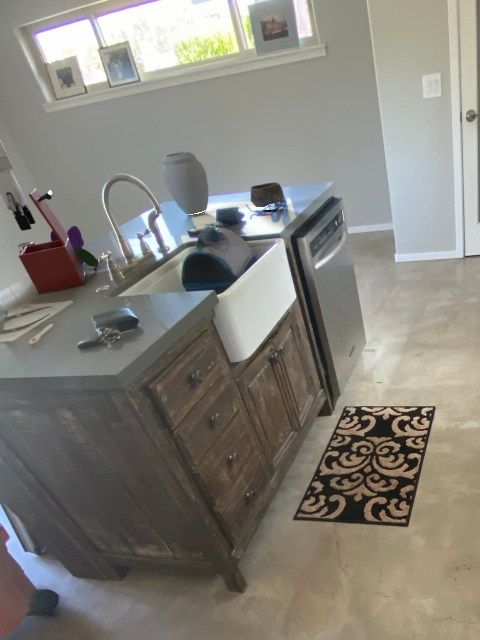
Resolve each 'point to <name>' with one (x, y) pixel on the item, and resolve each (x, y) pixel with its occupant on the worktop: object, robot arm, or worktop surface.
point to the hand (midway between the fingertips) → (28, 226)
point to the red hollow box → (52, 266)
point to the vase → (186, 182)
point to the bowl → (266, 194)
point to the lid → (49, 214)
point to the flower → (78, 246)
